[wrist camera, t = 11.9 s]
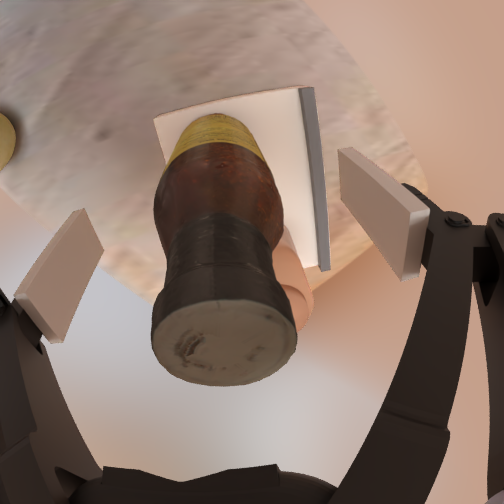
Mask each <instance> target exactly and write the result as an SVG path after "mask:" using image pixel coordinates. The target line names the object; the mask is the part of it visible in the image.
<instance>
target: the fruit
mask: <svg viewBox="0 0 504 504" xmlns="http://www.w3.org/2000/svg"><path fill="white" fill-rule="evenodd" d="M15 143H16V135H15V130H14V128H13V126H12V124H11V123H10V121H9V120H8V119H7V118H6V117H5V116H4V115H3V114H1V113H0V171H1V170H2V169H3V168H4V167H5V166H6V164H7V163H8V161H9V160H10V158H11V156H12V154H13V151H14V148H15Z"/></svg>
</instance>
